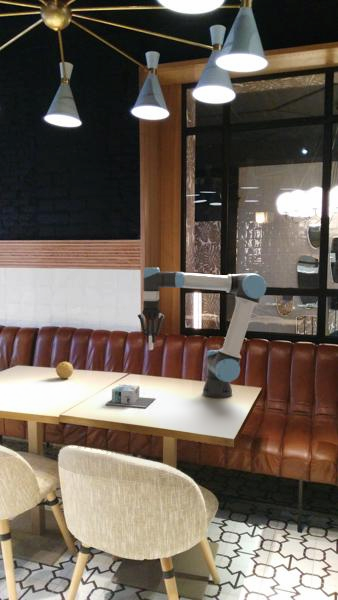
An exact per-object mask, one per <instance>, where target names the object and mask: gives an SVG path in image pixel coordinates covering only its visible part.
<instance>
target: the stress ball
mask: <svg viewBox="0 0 338 600" xmlns="http://www.w3.org/2000/svg"><path fill="white" fill-rule="evenodd" d="M55 372H56V374H57V376H58V377H59V378H61V379H62V380H67V379H68V378H70V377H72V375H73V373H74V366H73V364H72V363H70V362H68V361H62V362H60V363H57V365H56V367H55Z"/></svg>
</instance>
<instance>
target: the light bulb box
mask: <svg viewBox="0 0 338 600" xmlns="http://www.w3.org/2000/svg"><path fill="white" fill-rule="evenodd" d="M139 397H140V386H139V385H135V384H134V385H133V384H119V383H118V385H116V386H115V387H114V388H112V389H111V400H112V403H124V404H134V403H135V402H136V401H137V400H138V399H139Z"/></svg>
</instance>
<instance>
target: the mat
mask: <svg viewBox="0 0 338 600" xmlns="http://www.w3.org/2000/svg"><path fill="white" fill-rule="evenodd" d="M154 401H156V398H155V397H144V396H139V399H138V400H137V401H136V402H135V403H134V404H124V403H112V399H110V400H109V401H107V402H105V406H110V405H112V407H122V408H123V407H124V408H137V409H147V408H148V407H149V406H150V405H151V404H153V402H154Z"/></svg>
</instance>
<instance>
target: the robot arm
mask: <svg viewBox="0 0 338 600" xmlns="http://www.w3.org/2000/svg"><path fill="white" fill-rule="evenodd" d="M142 279H143V283H142V284H143V287H142V288H143V293H142V295H143V296H142V297H143V298H142V299H143V301H142V302H143V303H142V305H143V307H142V308H143V310H142V312H141V313H139V314H138V315H137V317H138V319H139V322H140V326H141V331H142V334H143V335H144V336H146V343H148V350H149V351H152V350H154V344H155V343H156V336H158V335H160V332H161V328H162V323H163V320H164V318H165V317H166V316H165V315H164V314H162V313H161V311H160V288H161V289H162V288H163V289H165V288H169V289H171V288H174V289H178V288H182V289H196V290H211V291H225V292H226V293H227V294H234V295H235V296H234V297H235V299H236V303H235V306H234V309H233V312H232V317H231V320H230V322H229V327H228V329H227V332H226V334H225V335H226V336H225V339H224V341H223V345H222V347H221V348H219V349H214V350H213V349H210V350H207V351H206V356H205V357H206V379H205V382H204V385H203V389H202V395H204V396H205V397H209V398H228V397H229V398H230V397H231V396H232V395H233V388H232V386H231V382H233V381H235V380H236V379H237V378H238V377H239V376H240V374H241V373H240V372H241V366H240V362H241V359H242V355H241V354H240V352H241V350H242V346H243V342H244V340H245V336H246V333H247V331H248V327H249V323H250V322H251V317H252V314H253V311H254V308H255V306H257V305H259V303H260V300H261V298H262V297H263V295H265V293H266V291H267V283H266V281H265V279H264V277H263V276H261V275H259V274H257V273H254V272H253V273H247V272H246V273H237V274H235V273H233V274H231V273H229V274H228V273H227V275H219V274H218V275H217V274H204V273H194V272H193V273H191V272H183V271H160V268H159V267H145V268H144V269H143V277H142ZM144 317H145V319H144ZM157 319H158V322H157ZM145 321H146V324H145Z"/></svg>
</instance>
